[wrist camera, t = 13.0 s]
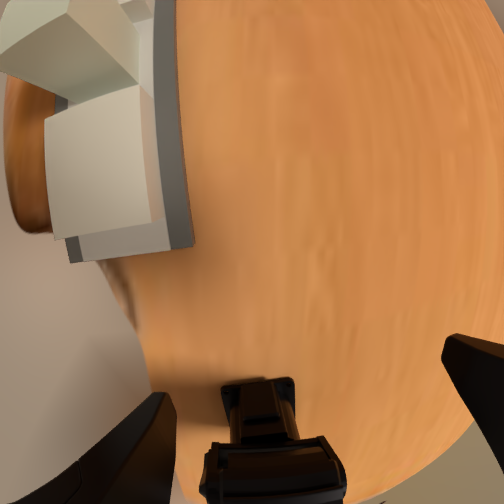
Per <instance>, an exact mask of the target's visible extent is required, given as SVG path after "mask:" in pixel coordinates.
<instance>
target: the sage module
mask: <svg viewBox="0 0 504 504" xmlns="http://www.w3.org/2000/svg"><path fill="white" fill-rule="evenodd" d="M139 47H140V35H139V33H138V32H137V30H136V28H135V27H134V25H133V24H132V22H131V21H130V19H129V18H128V16H127V15H126V13H125V12H124V10H123V9H122V7H121V6H120V4H119V3H118V1H117V0H11V1H10V2H8V4H7V6H6V9H5V11H4V13H3V16H2V18H1V21H0V71H1V72H3V73H6V74H8V75H11V76H14V77H16V78H19V79H21V80H24V81H26V82H29V83H31V84H33V85H36V86H38V87H41V88H43V89H45V90H48V91H50V92H52V93H54V94H57V95H59V96H61V97H63V98H66V99H68V100H70V101H72V102H74V103H77V104H80V103H83V102H85V101H88V100H91V99H94V98H96V97H99V96H102V95H105V94H108V93H111V92H114V91H117V90H121V89H124V88H127V87H131V86H135V85H138V84H139Z"/></svg>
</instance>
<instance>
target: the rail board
mask: <svg viewBox="0 0 504 504" xmlns="http://www.w3.org/2000/svg"><path fill="white" fill-rule="evenodd" d="M117 1H118V3H119V4H120V6H121V7H122V9H123V10H124V12H125V13H126V15H127V16H128V18H129V19H130V21H131V22H132V24H133V25H134V27H135V28H136V30H137V32H138V33H139V35H140V47H139V84H138V85H135V86H131V87H127V88H124V89H121V90H117V91H114V92H111V93H108V94H105V95H102V96H99V97H96V98H94V99H91V100H88V101H85V102H83V103H80V104H77V103H74V102H72V101H70V100H68V99H66V98H63V97H61V96H59V95H57V94H56V97H55V115H53V116H51V117H48V118H46V119H45V126H44V145H45V169H46V182H47V192H48V201H49V209H50V215H51V222H52V228H53V233H54V239H55V240H59V239H64V238H65V242H66V246H67V251H68V256H69V260H70V263H76V262H83V261H84V262H87V261H94V260H102V259H109V258H116V257H123V256H131V255H138V254H146V253H153V252H161V251H169V250H172V249H179V248H187V247H193V246H194V244H195V238H194V231H193V224H192V217H191V210H190V202H189V194H188V186H187V178H186V169H185V160H184V150H183V140H182V129H181V117H180V103H179V88H178V69H177V41H176V0H117Z"/></svg>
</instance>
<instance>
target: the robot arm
mask: <svg viewBox="0 0 504 504" xmlns="http://www.w3.org/2000/svg"><path fill="white" fill-rule="evenodd" d="M441 361H442V363H443V365H444V367H445V369H446V371H447V372H448V374H449V376H450V378H451V380H452V382H453V384H454V386H455V388H456V390H457V392H458V393H459V395H460V397H461V398H462V400H463V401H464V403H465V405H466V406H467V408H468V409H469V411H470V413H471V414H472V416H473V418H474V419H475V421H476V423H477V424H478V426H479V428H480V430H481V431H482V433H483V435H484V437H485V438H486V440H487V442H488V444H489V446H490V447H491V449H492V451H493V453H494V455H495V457H496V459H497V461H498V463H499V465H500V467H501V469H502V471H503V474H504V345H503V344H498V343H494V342H490V341H486V340H482V339H478V338H474V337H470V336H466V335H462V334H458V333H455V334H452V335H450V336H448V337H447V338H446V340H445V344H444V348H443V351H442V355H441ZM287 383H290V384H287ZM225 391H228V392H225ZM221 396H222V400H223V404H224V408H225V411H226V415H227V419H228V422H229V426H230V443H219V442H212V446H211V449H209V452H208V453H206V454H205V457H204V469H203V474H202V477H201V481H200V485H199V493H200V494H201V495H202V496H204V497H205V498H206V500H207V504H343V498H344V496H345V494H346V489H347V479H346V473H345V469H344V467H343V464H342V463H341V461H340V460H339V458H338V457H337V455H336V454H335V452H334V451H333V449H332V448H331V446H330V445H329V443H328V441H327V440H326V438H325V437H324V436H317V437H316V438H309V439H301V440H300V436H299V433H298V429H297V425H296V421H295V384H294V381H293V379H292V378H285V379H279V380H272V381H265V382H257V383H249V384H240V385H230V386H223V387H222V388H221ZM176 423H177V414H176V410H175V408H174V405H173V403H172V400H171V398H170V395H169V394H168V393H167V392H153V393H152V394H151V395H150V396H149V397H148V398H146V399H145V400H144V401H143V402H142V403H141V404H140V405H139V406H138V407H137V408H136V409H134V410H133V411H132V412H131V413H130V414H129V415H128V416H127V417H126V418H125V419H123V420H122V421H121V422H120V423H119V424H118V425H117V426H116V427H115V428H113V429H112V430H111V431H110V432H109V433H108V434H107V435H106V436H105V437H103V438H102V439H101V440H100V441H99V442H98V443H97V444H95V445H94V446H93V447H92V448H91V449H90V450H88V451H87V452H86V453H85V454H84V455H83V456H81V457H80V458H79V459H78V461H75V462H74V463H73V464H72V465H71V466H70V467H68V468H67V469H66V470H64V471H63V472H62V473H61V474H59V475H58V476H57V477H55V478H54V479H53V480H51V481H49V482H48V483H46V484H45V485H43V486H42V487H40V488H38V489H37V490H35V491H34V492H32V493H30V494H28V495H26V496H25V497H23V498H21V499H19V500H18V501H15V502H13V503H9V504H169V503H170V495H171V488H172V481H173V473H174V467H175V458H176Z"/></svg>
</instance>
